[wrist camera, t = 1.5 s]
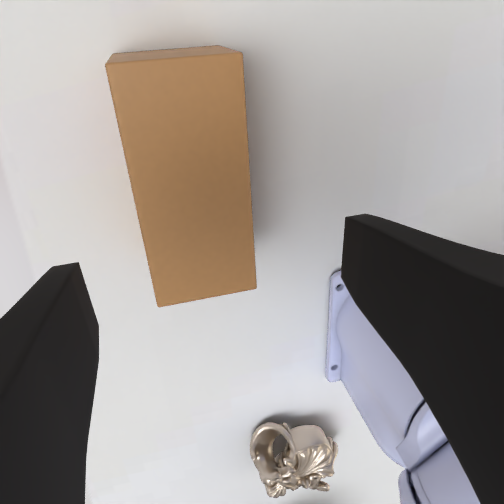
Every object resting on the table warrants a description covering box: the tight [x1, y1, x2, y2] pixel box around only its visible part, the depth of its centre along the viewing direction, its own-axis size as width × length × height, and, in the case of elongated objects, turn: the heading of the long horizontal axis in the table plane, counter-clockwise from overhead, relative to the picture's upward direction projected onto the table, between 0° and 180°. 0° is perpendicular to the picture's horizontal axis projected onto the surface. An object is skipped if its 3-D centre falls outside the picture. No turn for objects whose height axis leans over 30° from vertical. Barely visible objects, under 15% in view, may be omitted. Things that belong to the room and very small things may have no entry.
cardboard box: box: [105, 45, 257, 307], centre depth 18 cm, size 10×5×5 cm, turn 3°
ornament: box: [250, 422, 338, 498], centre depth 31 cm, size 8×7×4 cm
